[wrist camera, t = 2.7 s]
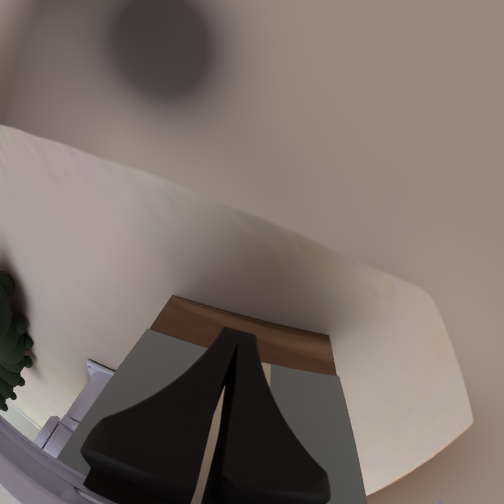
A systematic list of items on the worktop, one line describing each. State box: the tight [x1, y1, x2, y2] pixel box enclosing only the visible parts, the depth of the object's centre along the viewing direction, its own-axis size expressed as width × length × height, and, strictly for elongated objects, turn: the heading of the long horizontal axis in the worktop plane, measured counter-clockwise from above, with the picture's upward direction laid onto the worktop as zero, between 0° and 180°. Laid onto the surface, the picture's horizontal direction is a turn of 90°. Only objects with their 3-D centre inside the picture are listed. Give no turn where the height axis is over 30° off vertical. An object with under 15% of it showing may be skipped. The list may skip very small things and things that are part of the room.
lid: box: [56, 329, 367, 504], centre depth 12 cm, size 12×14×1 cm
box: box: [150, 295, 337, 376], centre depth 22 cm, size 12×14×5 cm
